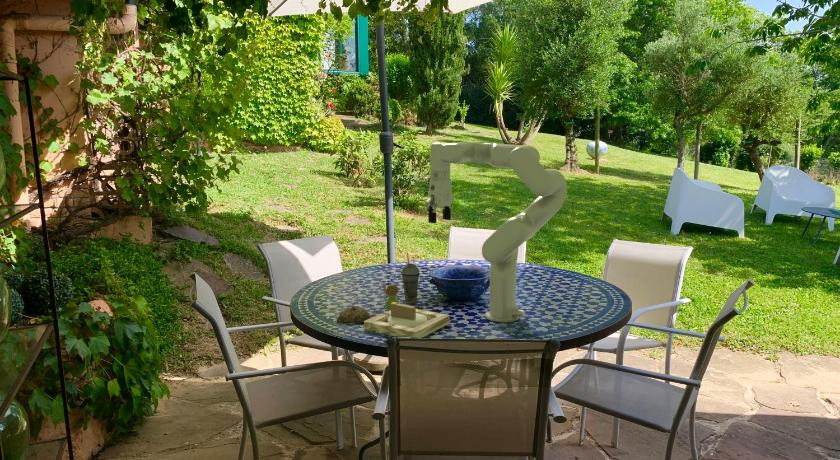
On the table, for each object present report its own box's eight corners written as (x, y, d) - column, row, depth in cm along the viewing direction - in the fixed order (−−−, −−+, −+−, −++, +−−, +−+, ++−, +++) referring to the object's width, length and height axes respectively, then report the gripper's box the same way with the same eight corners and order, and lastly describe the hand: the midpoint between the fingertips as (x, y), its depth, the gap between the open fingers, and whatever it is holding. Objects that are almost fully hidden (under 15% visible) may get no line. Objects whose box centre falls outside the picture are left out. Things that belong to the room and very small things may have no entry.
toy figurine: (383, 308, 254) (382, 278, 252) (399, 308, 254) (399, 278, 252) (381, 313, 249) (381, 282, 247) (398, 313, 249) (398, 282, 247)
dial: (434, 320, 235) (434, 303, 234) (412, 331, 223) (412, 313, 222) (402, 314, 242) (402, 297, 241) (379, 324, 231) (379, 307, 230)
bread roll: (370, 324, 237) (370, 311, 236) (336, 325, 236) (335, 312, 235) (370, 313, 249) (370, 301, 248) (337, 314, 248) (337, 302, 248)
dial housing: (449, 323, 236) (449, 314, 235) (415, 340, 218) (415, 331, 217) (400, 313, 248) (399, 305, 247) (363, 329, 230) (363, 320, 229)
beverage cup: (417, 304, 260) (417, 254, 257) (400, 303, 262) (399, 254, 258) (421, 299, 267) (421, 251, 264) (404, 298, 269) (403, 250, 265)
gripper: (435, 178, 235) (434, 225, 238) (461, 174, 249) (460, 219, 252) (418, 177, 239) (418, 223, 243) (444, 173, 253) (444, 217, 256)
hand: (439, 221), depth 247 cm, fingers open, 9 cm apart
